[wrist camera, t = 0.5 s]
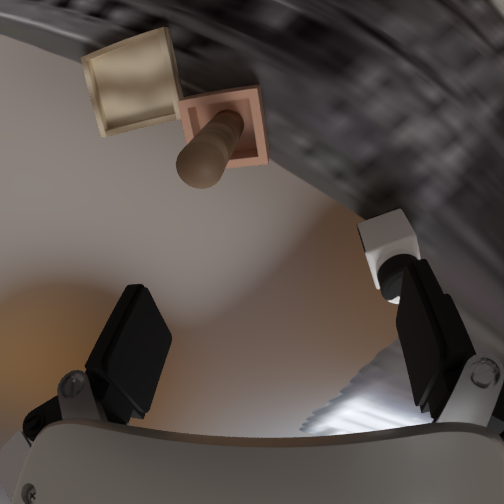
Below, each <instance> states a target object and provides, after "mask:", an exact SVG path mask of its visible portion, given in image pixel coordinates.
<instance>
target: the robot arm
mask: <svg viewBox="0 0 504 504" xmlns="http://www.w3.org/2000/svg"><path fill="white" fill-rule="evenodd" d="M396 327H397V331H398V335H399V339H400V342H401V346H402V350H403V354H404V358H405V362H406V366H407V370H408V375H409V379H410V383H411V388H412V393H413V397H414V402H415V405H416V406H420V409H421V413H424V412H429V411H430V414H431V418H433V421H432V423H428V424H421V425H414V426H406V427H400V428H394V429H387V430H379V431H371V432H362V433H353V434H343V435H331V436H316V437H293V438H248V437H247V438H246V437H224V436H208V435H197V434H187V433H178V432H169V431H161V430H154V429H148V428H142V427H135V426H131V424H130V422H129V420H130V417H132V418H138V419H144V416H145V413H147V412H148V411H149V410H150V407H151V403H152V400H153V397H154V394H155V391H156V387H157V384H158V381H159V378H160V375H161V372H162V369H163V366H164V363H165V360H166V357H167V354H168V351H169V348H170V345H171V342H172V336H171V333H170V331H169V329H168V327H167V325H166V323H165V322H164V319H163V317H162V316H161V314H160V312H159V310H158V308H157V306H156V304H155V302H154V300H153V298H152V296H151V294H150V292H149V290H148V288H146V287H144V285H142V284H132V285H128V286H127V287H126V288H125V290H124V292H123V293H122V296H121V297H120V299H119V301H118V302H117V304H116V306H115V308H114V310H113V312H112V314H111V315H110V317H109V319H108V321H107V323H106V325H105V327H104V329H103V331H102V332H101V334H100V336H99V338H98V340H97V342H96V344H95V346H94V348H93V350H92V352H91V354H90V356H89V358H88V361H87V362H86V364H85V368H86V372H85V373H84V372H83V371H80V370H73V371H71V372H69V373H68V374H66V375H65V376H64V377H63V378H62V379H61V381H60V383H59V384H58V388H57V393H58V395H57V396H55V397H53V398H52V399H51V400H49V401H47V402H45V403H44V404H42V405H40V406H39V407H37V408H35V409H34V410H32V411H31V412H30V413H28V415H27V416H26V417H25V419H24V422H23V431H21V430H19V431H18V432H17V433H16V434H15V435H14V436H13V437H12V438H11V439H10V440H9V441H8V442H7V443H6V444H5V446H4V447H3V448H2V449H1V450H0V482H1V483H2V485H3V487H4V489H5V491H6V493H7V495H8V497H9V499H10V501H11V502H12V503H11V504H504V369H503V367H502V365H501V363H500V362H499V361H498V360H497V358H495V357H493V356H492V355H489V354H485V353H484V354H477V355H476V352H475V350H474V347H473V345H472V343H471V340H470V338H469V335H468V333H467V331H466V328H465V326H464V324H463V321H462V319H461V317H460V315H459V313H458V310H457V308H456V306H455V304H454V302H453V300H452V298H451V296H450V295H449V294H443V292H442V289H441V287H440V285H439V283H438V281H437V279H436V277H435V275H434V273H433V271H432V269H431V267H430V265H429V263H428V262H427V260H426V259H420V260H411V261H410V262H409V265H406V266H405V267H404V273H403V280H402V287H401V294H400V300H399V306H398V311H397V317H396Z"/></svg>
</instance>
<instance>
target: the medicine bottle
mask: <svg viewBox="0 0 504 504" xmlns="http://www.w3.org/2000/svg"><path fill="white" fill-rule="evenodd" d="M357 229H358V232H359V235H360V238H361V241H362V244H363V248H364V251H365V255H366V258H367V260H368V264H369V267H370V270H371V273H372V276H373V279H374V283H375V286H376V288H377V289H380V290H381V293H382V296H383V297H384V299H386V300H387V301H389V302H391V303H395V304H399V300H400V294H401V287H402V280H403V273H404V267H405V266H406V265H409V262H410V261H411V260H420V259H421V258H420V252H419V247H418V241H417V236H416V234H415V232H414V230H413V228H412V227H411V225H410V223H409V221H408V219H407V218H406V216H405V214H404V212H403V211H402V209H396V210H394V211H391V212H388V213H385V214H382V215H380V216H377V217H374V218H371V219H368V220H365V221H363V222H360V223H358V224H357Z"/></svg>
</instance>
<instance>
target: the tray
mask: <svg viewBox="0 0 504 504" xmlns="http://www.w3.org/2000/svg"><path fill="white" fill-rule="evenodd" d="M81 61H82V65H83V70H84V74H85V78H86V82H87V86H88V90H89V94H90V98H91V102H92V106H93V109H94V113H95V117H96V120H97V123H98V127H99V130H100V134H101V137H102V138H104V137H108V136H112V135H115V134H119V133H122V132H127V131H130V130H134V129H139V128H143V127H147V126H151V125H155V124H160V123H165V122H169V121H174V120H179V119H181V116H180V112H179V107H178V103H177V102H178V101H179V100H181V99H183V98H184V96H183V92H182V87H181V82H180V78H179V73H178V68H177V63H176V58H175V53H174V48H173V43H172V38H171V33H170V28H169V27H162V28H158V29H155V30H152V31H149V32H146V33H143V34H139V35H137V36H134V37H131V38H128V39H125V40H122V41H120V42H117V43H114V44H112V45H109V46H107V47H104V48H102V49H99V50H97V51H95V52H92V53H90V54H88V55H85V56H83V57H81Z"/></svg>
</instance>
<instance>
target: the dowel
mask: <svg viewBox="0 0 504 504" xmlns="http://www.w3.org/2000/svg"><path fill="white" fill-rule="evenodd" d="M243 130H244V121H243V118H242V117H241V115H240V114H238V113H237V112H235V111H233V110H222V111H220V112H218V113H217V114H216V115H215V116H214V117H213V118H212V119H211V120H210V121H209V122H208V123H207V124H206V125H205V126H204V127H203V128H202V129H201V130H200V131H199V132H198V133H197V135H196V136H195V137H194V138H193V139H192V140H191V141H190V142H189V143H188V144H187V145H186V146H185V147H184V149H183V150H182V151H181V152H180V153H179V155H178V157H177V161H176V168H177V172H178V174H179V176H180V178H181V179H182V180H183V181H184V182H185V183H186V184H188V185H189V186H192V187H194V188H202V189H203V188H208V187H211V186H213V185H215V184H216V183H217V182H218V181H219V180H220V178H221V176H222V174H223V172H224V170H225V168H226V166H227V164H228V161H229V159H230V157H231V155H232V153H233V151H234V149H235V147H236V145H237V143H238V141H239V139H240V137H241V134H242V132H243Z"/></svg>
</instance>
